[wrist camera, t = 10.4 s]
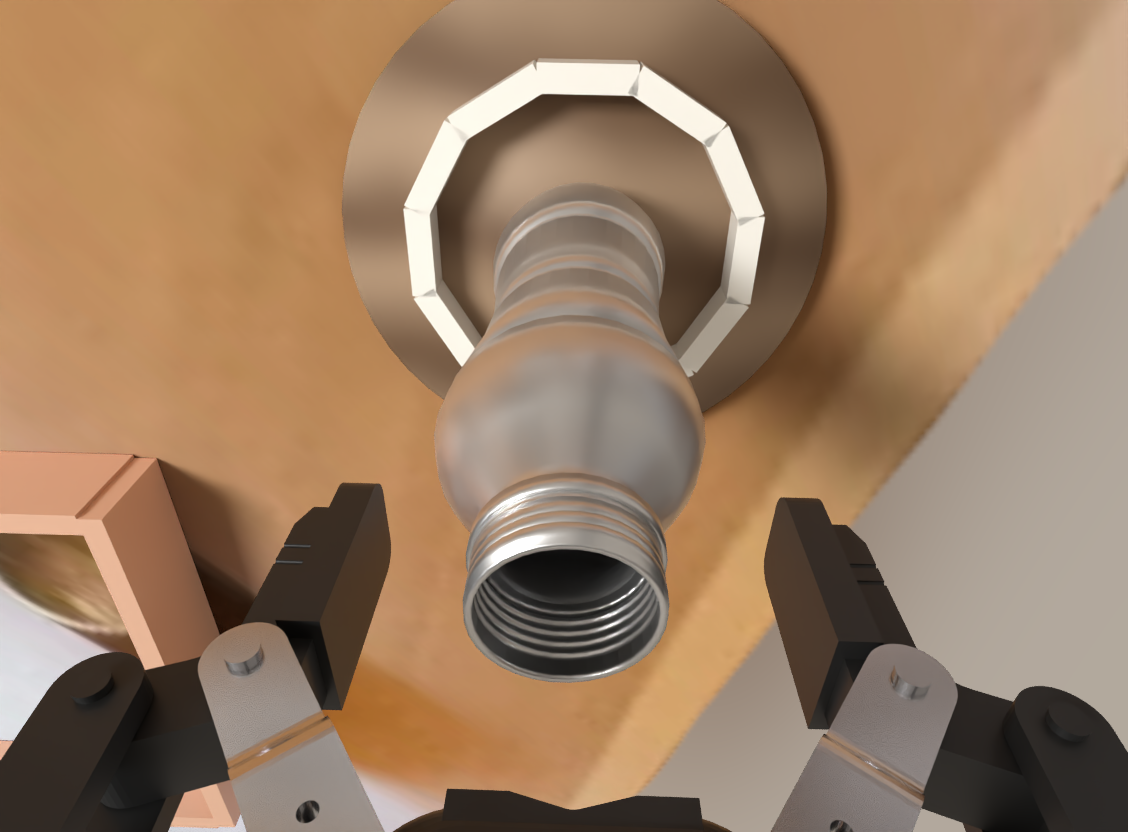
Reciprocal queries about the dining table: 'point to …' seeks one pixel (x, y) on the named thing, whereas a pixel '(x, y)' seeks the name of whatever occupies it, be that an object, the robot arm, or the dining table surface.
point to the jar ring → (586, 81)
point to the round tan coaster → (587, 166)
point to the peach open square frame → (124, 565)
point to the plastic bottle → (570, 442)
